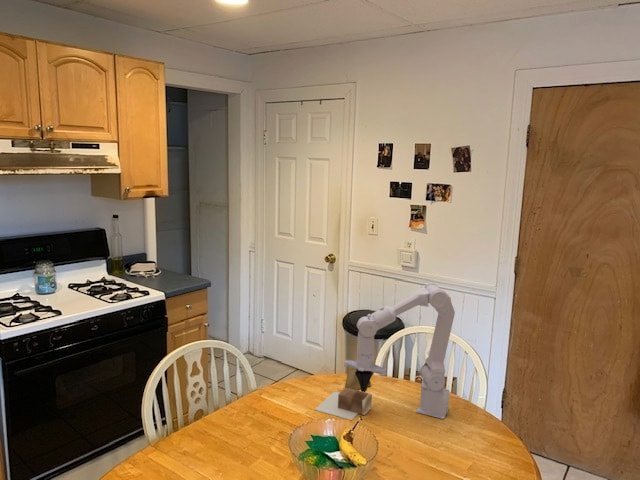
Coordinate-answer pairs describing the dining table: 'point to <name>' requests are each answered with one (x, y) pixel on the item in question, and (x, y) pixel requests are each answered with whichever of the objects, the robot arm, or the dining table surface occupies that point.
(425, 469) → the dining table surface
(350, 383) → the rock
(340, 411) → the board
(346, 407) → the walnut block
